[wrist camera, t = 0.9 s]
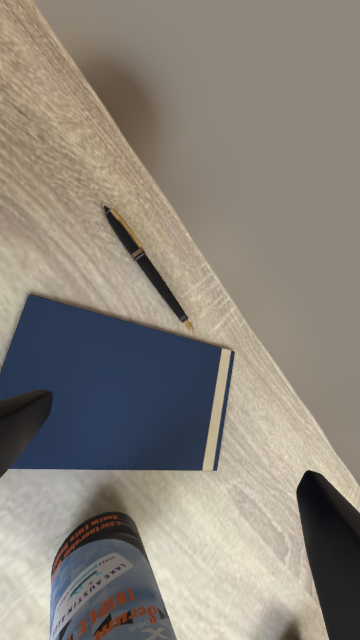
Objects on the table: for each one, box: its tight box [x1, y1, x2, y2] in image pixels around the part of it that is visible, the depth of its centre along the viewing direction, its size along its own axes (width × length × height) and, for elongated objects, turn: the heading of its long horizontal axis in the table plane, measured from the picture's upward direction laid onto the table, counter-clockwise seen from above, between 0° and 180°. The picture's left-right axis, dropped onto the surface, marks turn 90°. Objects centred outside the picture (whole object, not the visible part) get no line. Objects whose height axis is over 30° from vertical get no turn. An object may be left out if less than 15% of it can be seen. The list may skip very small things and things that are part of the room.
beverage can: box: [49, 512, 177, 640], centre depth 13 cm, size 6×7×12 cm
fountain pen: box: [104, 206, 195, 333], centre depth 22 cm, size 14×1×2 cm, turn 39°
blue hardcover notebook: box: [0, 294, 235, 471], centre depth 20 cm, size 12×20×1 cm, turn 77°
